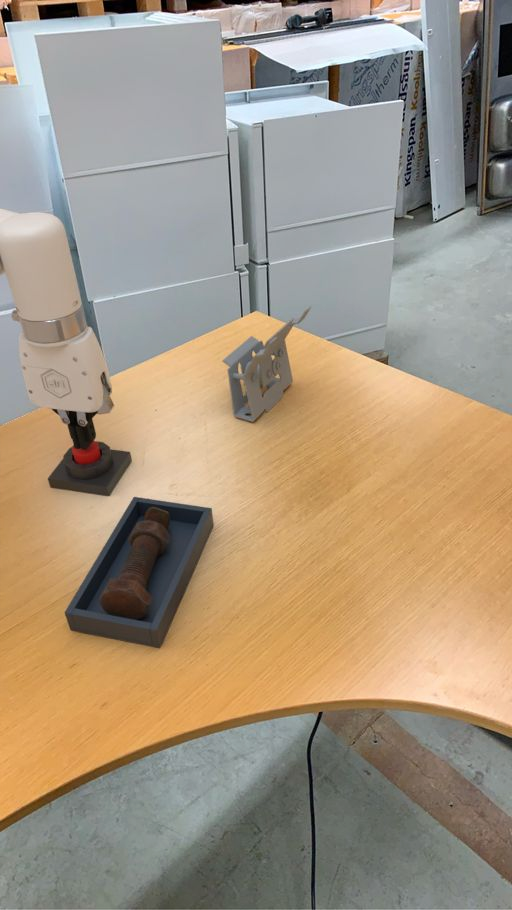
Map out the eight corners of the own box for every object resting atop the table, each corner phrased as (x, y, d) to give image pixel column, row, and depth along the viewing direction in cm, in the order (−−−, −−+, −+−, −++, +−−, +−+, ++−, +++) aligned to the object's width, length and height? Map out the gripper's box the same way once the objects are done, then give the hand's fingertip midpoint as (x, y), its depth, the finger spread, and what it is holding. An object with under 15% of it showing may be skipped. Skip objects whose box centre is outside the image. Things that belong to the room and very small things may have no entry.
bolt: (168, 536, 84) (134, 629, 72) (132, 519, 84) (92, 611, 72) (186, 508, 81) (154, 600, 69) (149, 490, 80) (110, 581, 68)
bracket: (273, 430, 100) (270, 342, 91) (219, 413, 104) (211, 328, 95) (310, 389, 109) (311, 305, 100) (259, 376, 113) (255, 294, 104)
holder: (70, 630, 72) (64, 612, 70) (137, 514, 86) (133, 496, 85) (160, 648, 70) (156, 630, 68) (213, 525, 84) (211, 507, 82)
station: (50, 487, 91) (44, 468, 89) (76, 453, 98) (71, 434, 95) (109, 496, 89) (104, 476, 87) (132, 460, 96) (128, 441, 93)
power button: (70, 463, 91) (67, 453, 90) (81, 448, 93) (79, 438, 92) (93, 466, 90) (91, 456, 89) (104, 451, 93) (102, 441, 92)
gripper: (-18, 331, 78) (23, 453, 89) (96, 341, 74) (124, 466, 86) (15, 304, 83) (50, 422, 95) (123, 312, 80) (146, 433, 91)
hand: (85, 443), depth 90 cm, fingers closed
